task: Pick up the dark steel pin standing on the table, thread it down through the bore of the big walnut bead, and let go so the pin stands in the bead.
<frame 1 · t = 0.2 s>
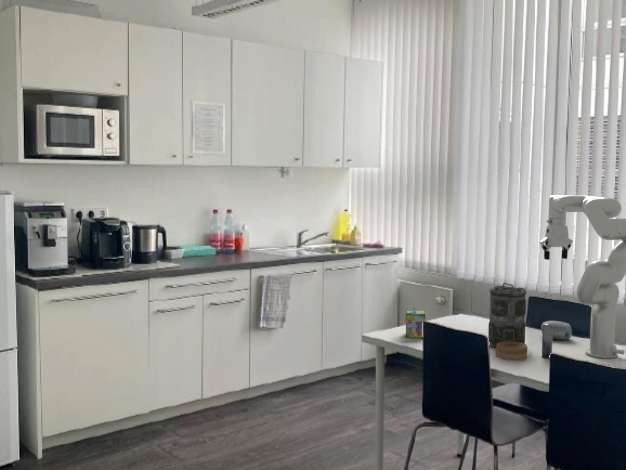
hand: (555, 259, 325), 37 cm above the table, fingers open, 9 cm apart
canister: (506, 346, 314), on the table
grey-green rounded cylinder: (556, 339, 327), on the table
chalk box: (415, 336, 332), on the table
pin: (546, 357, 295), on the table
bead: (511, 356, 296), on the table
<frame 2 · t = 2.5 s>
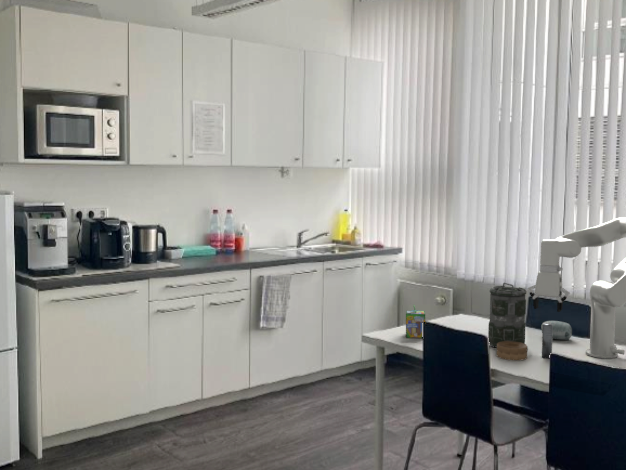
hand: (547, 309, 293), 20 cm above the table, fingers open, 9 cm apart
nothing on the table moved.
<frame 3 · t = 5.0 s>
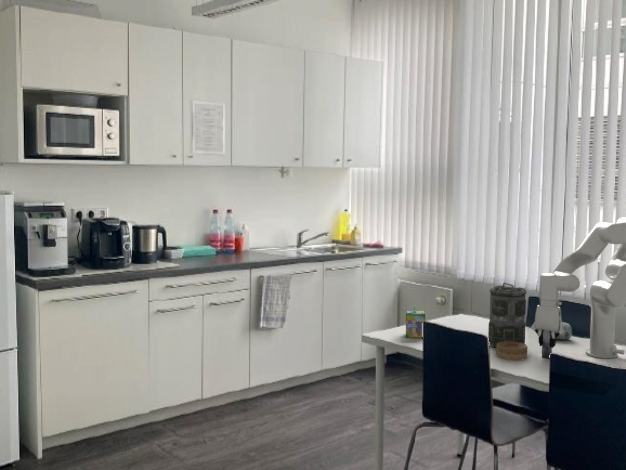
hand: (547, 345, 294), 5 cm above the table, fingers closed on pin, 4 cm apart
pin: (546, 357, 295), on the table, touching gripper
everything else where it was.
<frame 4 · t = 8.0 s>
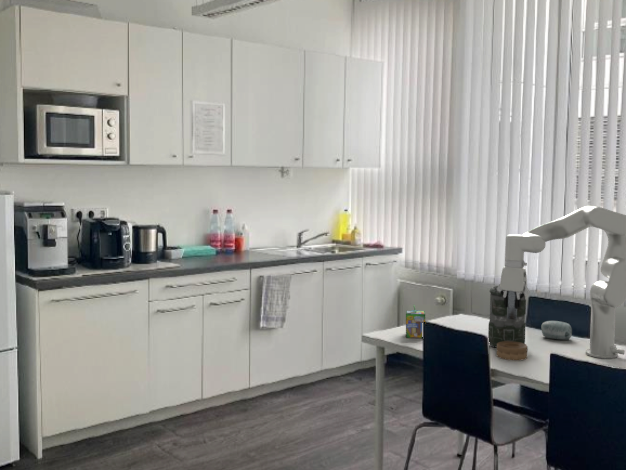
hand: (512, 307, 294), 21 cm above the table, fingers closed on pin, 4 cm apart
pin: (511, 318, 294), point 16 cm above the table, touching gripper
everything else where it was.
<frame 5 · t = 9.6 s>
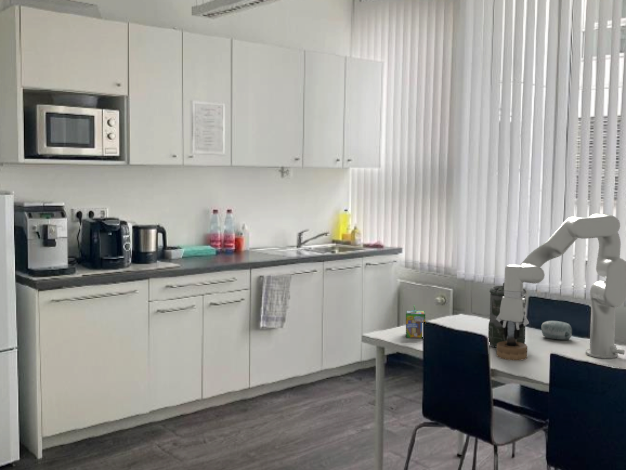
hand: (511, 337, 295), 8 cm above the table, fingers closed on pin, 4 cm apart
pin: (511, 348, 295), point 3 cm above the table, touching gripper
everything else where it was.
when the fingers open (6 cm above the table, at t = 11.0 s): pin drops 1 cm, resting in bead.
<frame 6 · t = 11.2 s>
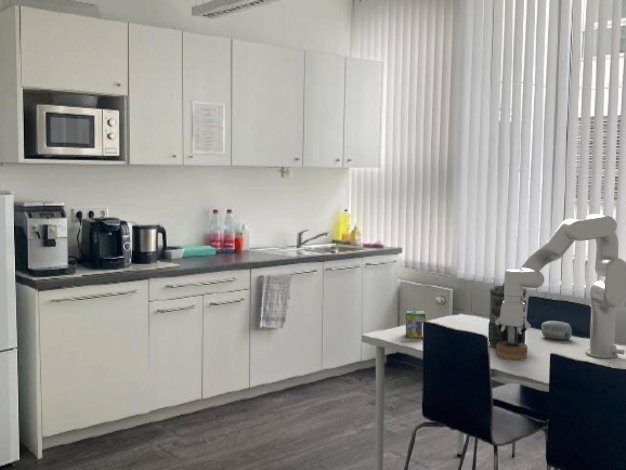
hand: (512, 341, 295), 7 cm above the table, fingers open, 5 cm apart
pin: (511, 356, 296), resting in bead
everything else where it was.
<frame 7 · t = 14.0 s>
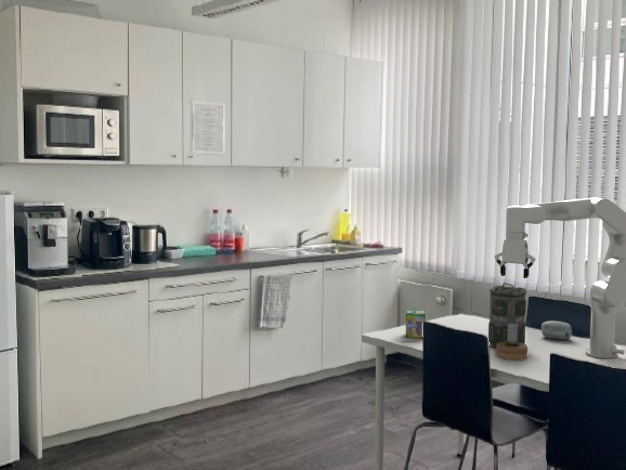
hand: (514, 276, 293), 34 cm above the table, fingers open, 9 cm apart
nothing on the table moved.
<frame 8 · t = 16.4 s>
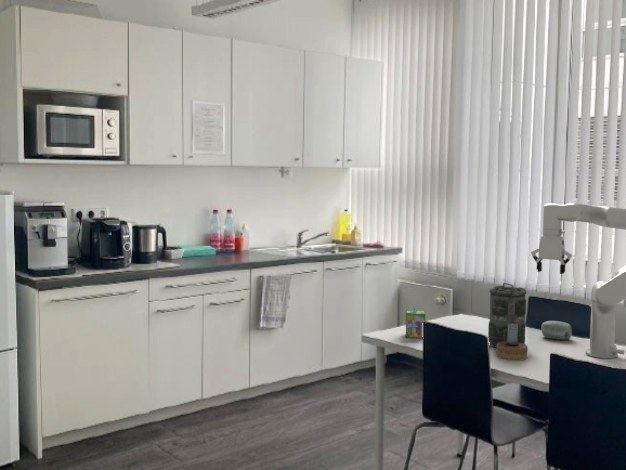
hand: (550, 272, 301), 34 cm above the table, fingers open, 9 cm apart
nothing on the table moved.
at the end: pin 0.1 cm from the bead (horizontally); pin resting in bead; pin tilted 0° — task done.
